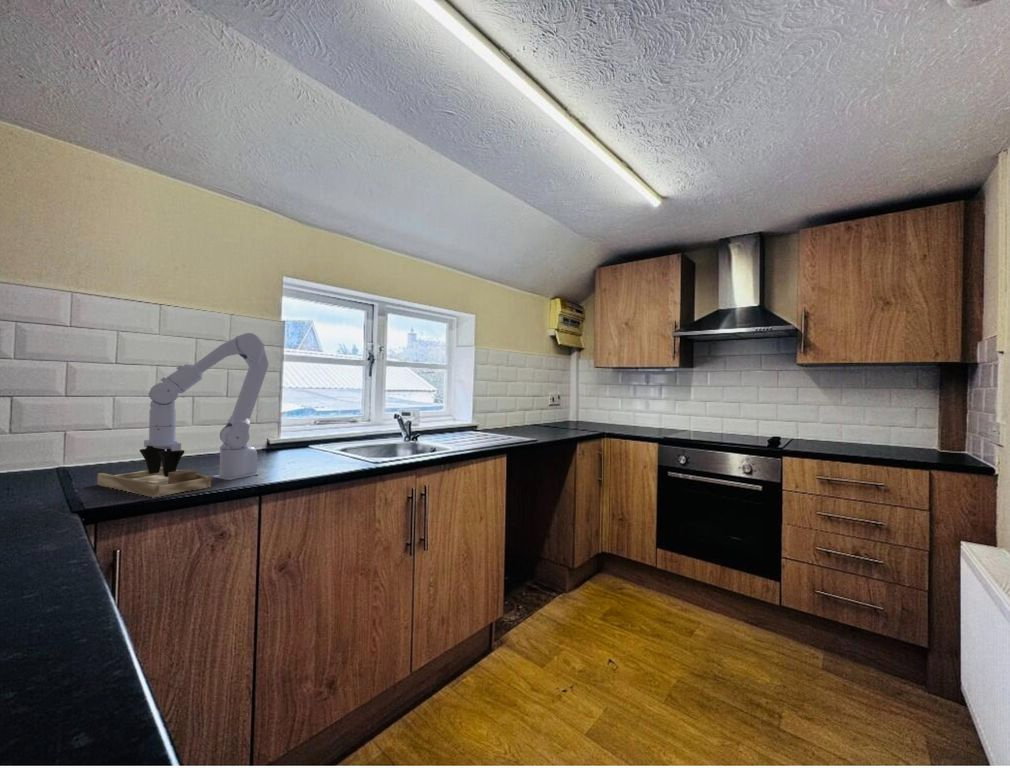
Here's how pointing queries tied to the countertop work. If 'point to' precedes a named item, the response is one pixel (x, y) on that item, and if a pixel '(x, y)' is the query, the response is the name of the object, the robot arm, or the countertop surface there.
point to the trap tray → (151, 483)
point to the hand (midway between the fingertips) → (161, 474)
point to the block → (181, 476)
